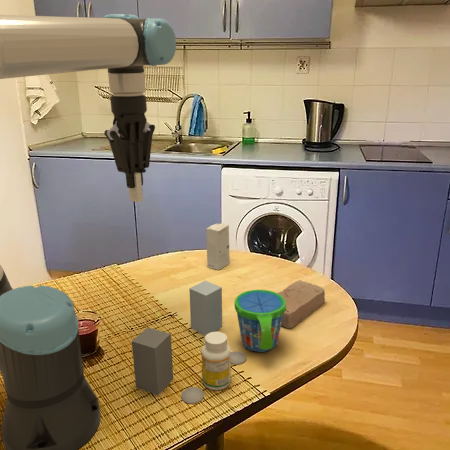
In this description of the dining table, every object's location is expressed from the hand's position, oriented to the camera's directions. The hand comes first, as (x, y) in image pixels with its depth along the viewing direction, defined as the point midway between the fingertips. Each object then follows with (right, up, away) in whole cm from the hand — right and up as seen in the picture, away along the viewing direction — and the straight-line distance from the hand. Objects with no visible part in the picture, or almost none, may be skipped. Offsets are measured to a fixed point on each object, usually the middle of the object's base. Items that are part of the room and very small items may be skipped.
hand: (136, 200), depth 105 cm
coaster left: (+15, -36, -23) cm, 46 cm away
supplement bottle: (+19, -35, -20) cm, 45 cm away
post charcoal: (+7, -35, -20) cm, 41 cm away
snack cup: (+28, -31, -8) cm, 42 cm away
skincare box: (+19, -18, +29) cm, 39 cm away
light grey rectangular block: (+16, -29, -2) cm, 33 cm away
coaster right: (+23, -33, -13) cm, 42 cm away
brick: (+37, -27, +5) cm, 46 cm away
